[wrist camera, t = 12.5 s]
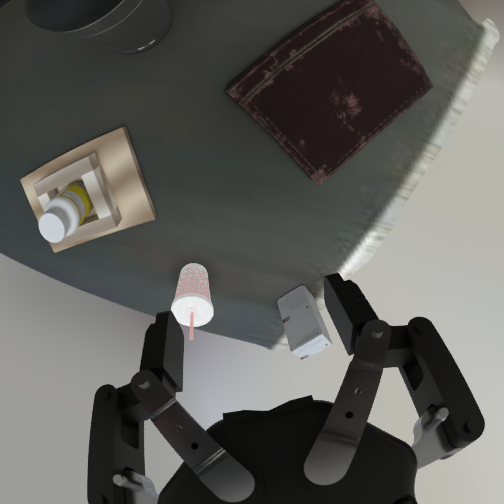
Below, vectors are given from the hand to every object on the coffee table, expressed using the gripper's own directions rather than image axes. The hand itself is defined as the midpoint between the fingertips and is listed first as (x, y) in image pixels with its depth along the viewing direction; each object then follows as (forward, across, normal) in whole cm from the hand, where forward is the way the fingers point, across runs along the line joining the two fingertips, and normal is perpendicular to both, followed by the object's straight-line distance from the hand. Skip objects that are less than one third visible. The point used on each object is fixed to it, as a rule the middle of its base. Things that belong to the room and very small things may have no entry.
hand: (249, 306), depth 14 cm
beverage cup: (+28, +9, +16) cm, 33 cm away
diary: (+28, -18, -10) cm, 34 cm away
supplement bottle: (+26, +21, -2) cm, 34 cm away
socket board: (+27, +22, -2) cm, 35 cm away
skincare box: (+28, -7, +27) cm, 39 cm away
